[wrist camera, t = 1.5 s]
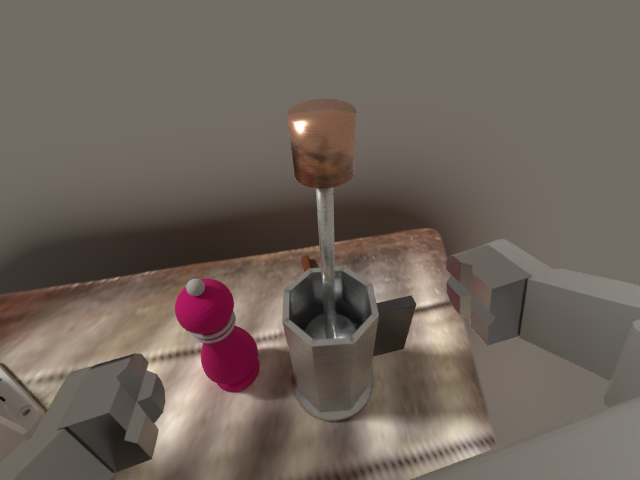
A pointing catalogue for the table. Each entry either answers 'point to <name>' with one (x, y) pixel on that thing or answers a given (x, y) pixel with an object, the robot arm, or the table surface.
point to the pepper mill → (218, 334)
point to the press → (340, 342)
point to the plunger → (324, 189)
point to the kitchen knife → (306, 262)
